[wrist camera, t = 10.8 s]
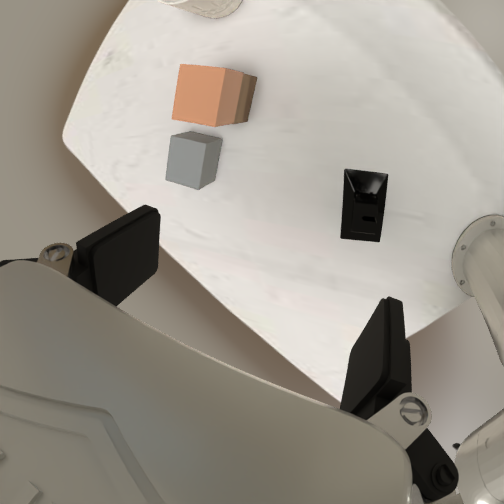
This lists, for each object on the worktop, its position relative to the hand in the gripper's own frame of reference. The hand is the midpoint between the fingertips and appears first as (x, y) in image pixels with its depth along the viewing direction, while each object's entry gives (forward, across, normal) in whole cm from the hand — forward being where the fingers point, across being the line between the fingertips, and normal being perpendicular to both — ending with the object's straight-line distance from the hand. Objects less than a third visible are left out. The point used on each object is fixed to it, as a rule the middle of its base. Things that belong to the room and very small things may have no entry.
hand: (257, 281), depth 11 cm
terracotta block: (+22, +14, -5) cm, 27 cm away
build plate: (+29, -5, +4) cm, 30 cm away
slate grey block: (+27, +17, +4) cm, 32 cm away
